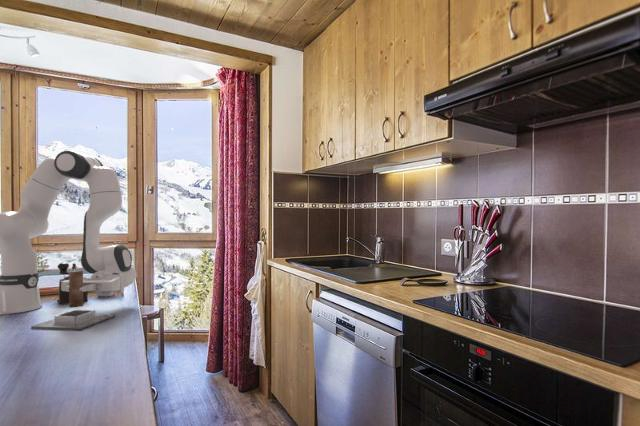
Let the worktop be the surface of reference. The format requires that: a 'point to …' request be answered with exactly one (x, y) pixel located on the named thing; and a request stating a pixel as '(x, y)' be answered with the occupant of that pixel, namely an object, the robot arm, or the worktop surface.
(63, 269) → the manual coffee grinder
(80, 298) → the walnut peg
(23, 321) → the worktop surface
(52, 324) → the plate
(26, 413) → the worktop surface
